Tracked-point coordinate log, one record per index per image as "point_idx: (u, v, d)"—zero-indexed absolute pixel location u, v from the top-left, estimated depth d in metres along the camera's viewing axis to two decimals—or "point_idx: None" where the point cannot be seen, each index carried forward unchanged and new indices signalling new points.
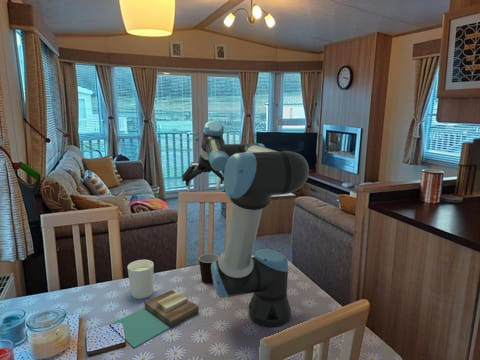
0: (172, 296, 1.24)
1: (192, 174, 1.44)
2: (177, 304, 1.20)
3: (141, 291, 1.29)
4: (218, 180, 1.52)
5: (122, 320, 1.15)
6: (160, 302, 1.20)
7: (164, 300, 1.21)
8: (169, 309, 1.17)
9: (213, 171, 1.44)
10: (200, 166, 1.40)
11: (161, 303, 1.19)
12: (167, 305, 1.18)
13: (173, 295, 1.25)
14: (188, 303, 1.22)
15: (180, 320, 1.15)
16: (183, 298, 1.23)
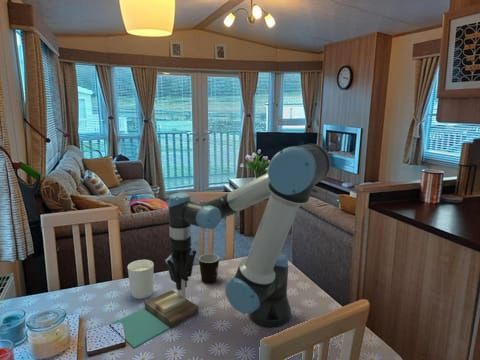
0: (170, 297, 1.23)
1: (177, 271, 1.21)
2: (175, 305, 1.19)
3: (141, 291, 1.29)
4: None
5: (122, 320, 1.15)
6: (158, 303, 1.19)
7: (162, 301, 1.21)
8: (167, 310, 1.17)
9: (186, 259, 1.21)
10: (174, 254, 1.18)
11: (159, 304, 1.19)
12: (165, 306, 1.18)
13: (171, 295, 1.24)
14: (188, 303, 1.22)
15: (180, 320, 1.15)
16: (181, 299, 1.22)
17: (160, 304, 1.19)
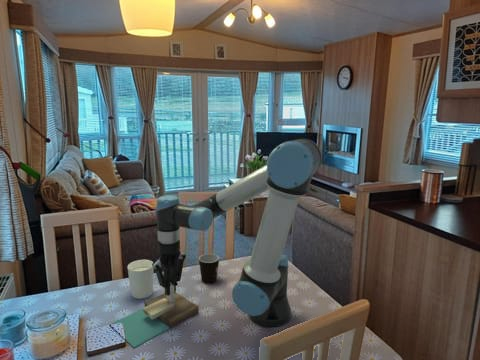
0: (159, 302, 1.20)
1: (165, 276, 1.18)
2: (163, 311, 1.16)
3: (141, 291, 1.29)
4: None
5: (122, 320, 1.15)
6: (146, 309, 1.16)
7: (150, 306, 1.17)
8: (155, 316, 1.13)
9: (175, 263, 1.18)
10: (162, 259, 1.15)
11: (147, 310, 1.15)
12: (153, 312, 1.14)
13: (159, 301, 1.21)
14: (188, 303, 1.22)
15: (180, 320, 1.15)
16: (170, 304, 1.19)
17: (148, 310, 1.15)
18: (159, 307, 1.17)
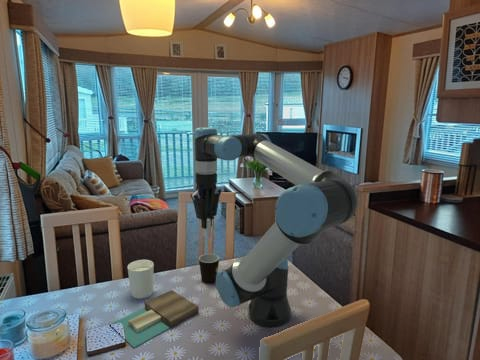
0: (146, 314, 1.16)
1: (203, 209, 1.19)
2: (149, 323, 1.12)
3: (141, 291, 1.29)
4: None
5: (122, 320, 1.15)
6: (131, 321, 1.12)
7: (136, 319, 1.14)
8: (140, 329, 1.10)
9: (212, 196, 1.19)
10: (201, 190, 1.16)
11: (132, 322, 1.12)
12: (138, 325, 1.11)
13: (146, 312, 1.17)
14: (188, 303, 1.22)
15: (180, 320, 1.15)
16: (157, 316, 1.15)
17: (133, 322, 1.12)
18: (145, 319, 1.13)
